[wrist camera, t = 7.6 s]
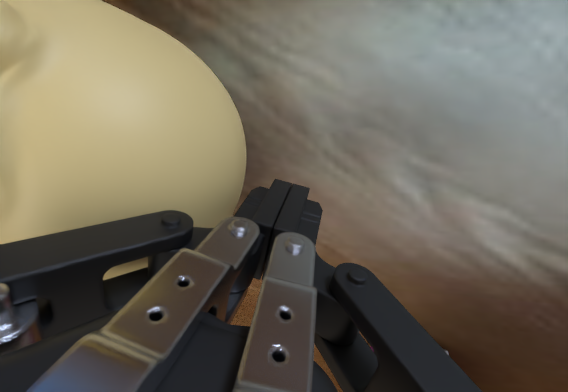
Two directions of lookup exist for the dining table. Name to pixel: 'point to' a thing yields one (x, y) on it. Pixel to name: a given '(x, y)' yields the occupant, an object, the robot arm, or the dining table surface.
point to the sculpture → (108, 123)
